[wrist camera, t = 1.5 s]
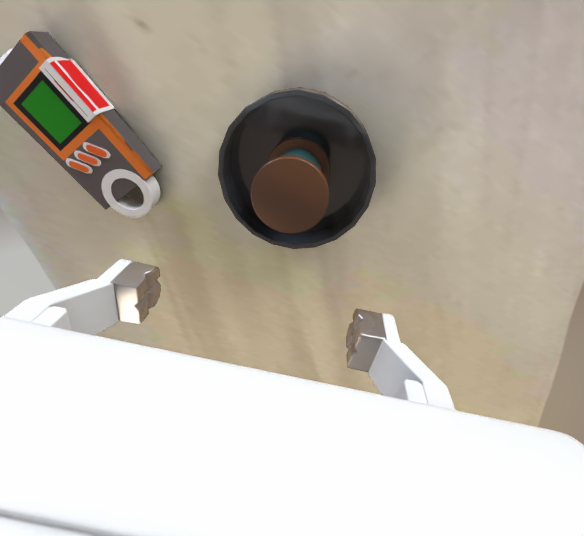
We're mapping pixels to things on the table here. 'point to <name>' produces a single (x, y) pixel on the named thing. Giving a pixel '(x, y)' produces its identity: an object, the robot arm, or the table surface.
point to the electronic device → (76, 124)
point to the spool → (292, 186)
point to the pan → (308, 124)
